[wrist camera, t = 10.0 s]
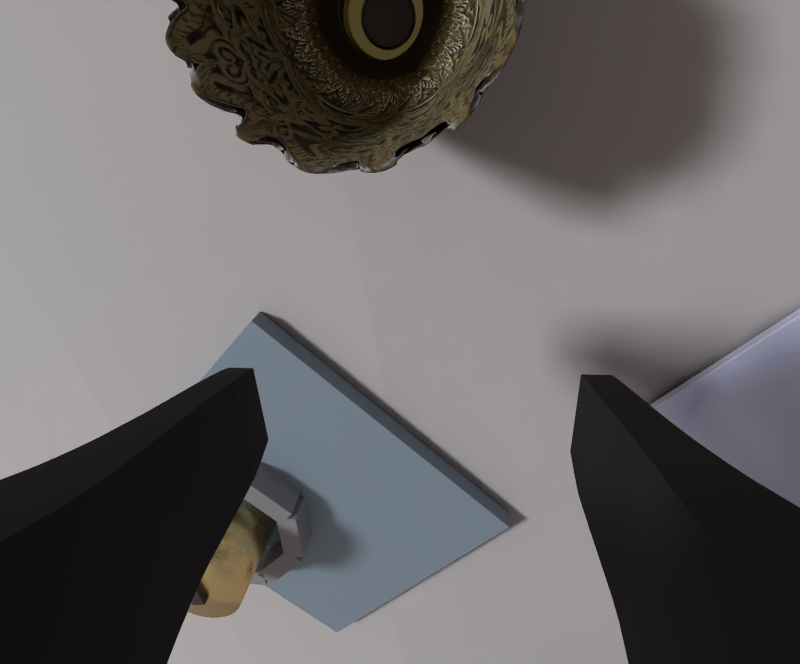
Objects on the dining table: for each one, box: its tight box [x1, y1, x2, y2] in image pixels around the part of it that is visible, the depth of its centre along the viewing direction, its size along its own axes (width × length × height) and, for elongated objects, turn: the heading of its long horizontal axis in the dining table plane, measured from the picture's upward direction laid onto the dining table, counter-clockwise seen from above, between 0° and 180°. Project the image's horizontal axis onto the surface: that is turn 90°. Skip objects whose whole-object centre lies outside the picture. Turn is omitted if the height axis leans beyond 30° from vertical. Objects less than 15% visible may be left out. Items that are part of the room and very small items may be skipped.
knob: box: [188, 499, 276, 617], centre depth 24 cm, size 4×4×5 cm
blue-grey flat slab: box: [201, 312, 509, 632], centre depth 25 cm, size 16×14×2 cm
